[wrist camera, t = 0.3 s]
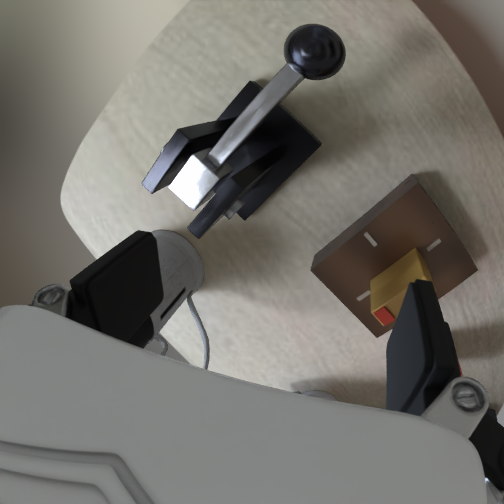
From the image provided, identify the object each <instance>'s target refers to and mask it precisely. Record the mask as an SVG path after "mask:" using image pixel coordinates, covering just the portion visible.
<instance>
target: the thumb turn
mask: <svg viewBox="0 0 504 504" xmlns="http://www.w3.org/2000/svg"><path fill="white" fill-rule="evenodd" d="M416 279H421V280H427V281H432V283H433V280H432V277H431V274H430V271H429V268H428V265H427V263H426V261H425V259H424V258H423V257H422V255H421V254H420V253H419V252H418V250H417V249H416V248H414V249H412V250H411V251H410V252H409V253H407V254H406V255H405V256H403V257H402V258H401V259H399V260H398V261H397V262H395V263H394V264H392V265H391V266H390V267H388V268H387V269H386V270H384V271H383V272H382V273H380V274H379V275H377V276H376V277H375V278H373V279H372V280H371V281H370V288H371V313H372V314H373V315H374V316H375V317H376V318H377V320H378V321H379V322H380V323H381V324H382V325H383V326H386V325H388V324H389V323H391V322H392V321H394V320H395V319H396V318H397V317H398V314H399V311H400V308H401V306H402V303H403V300H404V297H405V294H406V291H407V288H408V285H409V283H410V282H415V280H416ZM433 286H434V283H433ZM434 289H435V286H434ZM435 292H436V289H435Z"/></svg>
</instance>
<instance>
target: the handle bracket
mask: <svg viewBox="0 0 504 504" xmlns="http://www.w3.org/2000/svg"><path fill="white" fill-rule="evenodd" d="M262 89H263V88H262V87H261V86H259V85H258V84H257V83H256V82H255V81H249V82H248V83H247V85H246V86H245V87H244V88H243V89H242V90H241V92H240V93H239V94H238V95H237V96H236V97H235V99H234V100H233V101H232V102H231V103H230V105H229V106H228V107H227V108H226V109H225V111H224V112H223V113H222V114H221V115H220V117H219V118H218V119H217V120H216V121H212V122H207V123H202V124H197V125H193V126H188V127H184V128H180V129H177V131H176V132H175V134H174V135H173V136H172V138H171V139H170V141H169V142H168V143H167V144H166V145H165V146H164V147H163V149H162V150H161V153H160V156H159V157H158V159H157V160H156V162H155V163H154V165H153V166H152V168H151V169H150V171H149V172H148V174H147V176H146V177H145V179H144V180H143V182H142V185H143V186H144V187H145V188H146V189H147V190H148V191H149V192H150V193H151V194H153V193H155V192H156V191H158V190H160V189H162V188H164V187H166V186H167V185H169V184H171V182H172V181H173V179H174V178H175V177H176V175H177V174H178V173H179V171H180V170H181V168H182V167H183V166H184V164H185V163H186V162H187V160H188V159H189V158H190V156H191V155H192V154H193V153H196V152H198V151H201V150H203V149H206V148H209V147H211V148H213V147H214V145H215V144H216V143H217V142H218V141H219V139H220V138H221V137H222V136H223V134H224V133H225V132H226V131H227V130H228V128H229V127H230V126H231V125H232V124H233V123H234V121H235V120H236V119H237V118H238V117H239V115H240V114H241V113H242V112H243V111H244V110H245V109H246V107H247V106H248V105H249V104H250V103H251V102H252V101H253V99H254V98H255V97H256V96H257V95H258V94H259V93H260V92H261V90H262ZM321 145H322V142H321V141H320V140H319V139H318V138H317V137H316V136H315V135H314V134H313V133H312V132H311V131H310V130H308V129H307V128H306V127H305V126H304V125H303V124H302V123H301V122H300V121H299V120H298V119H297V118H296V117H295V116H294V115H292V114H291V113H290V112H289V111H288V110H287V109H286V108H285V107H284V106H283V105H281V104H280V105H279V106H278V107H277V108H276V109H275V110H274V111H273V112H272V113H271V114H270V115H269V116H268V117H267V119H266V120H265V121H264V122H263V123H262V124H261V125H260V126H259V127H258V128H257V130H256V131H255V132H254V133H253V134H252V135H251V136H250V137H249V138H248V140H247V141H246V142H245V143H244V144H243V145H242V146H241V148H240V149H239V150H238V151H237V152H236V153H235V154H234V156H233V157H232V158H231V159H230V160H229V161H228V164H229V165H230V166H231V167H232V168H233V169H234V172H233V173H232V174H231V175H230V176H229V177H228V178H227V180H226V181H225V182H224V183H223V184H222V185H221V186H220V188H219V189H218V190H217V191H216V192H215V193H216V194H215V195H214V196H213V198H212V199H211V200H210V201H209V202H208V203H207V205H206V206H205V207H204V208H203V209H202V210H201V212H200V213H199V214H198V215H197V216H196V218H195V219H194V220H193V221H192V222H191V224H190V225H189V226H188V227H187V229H188V230H189V231H190V232H191V233H192V234H194V235H195V236H196V237H197V238H198V239H200V238H201V237H202V236H203V235H204V234H205V233H206V232H207V231H208V230H209V229H210V228H211V227H212V226H214V225H215V224H216V223H217V222H218V221H219V220H220V219H221V218H222V217H223V216H226V217H227V218H228V219H231V218H232V216H233V215H234V214H235V213H237V214H238V215H239V216H240V217H241V218H242V219H243V220H246V219H247V218H248V217H249V216H250V215H251V214H252V213H253V212H254V211H255V210H256V209H257V208H258V207H259V206H260V205H261V204H262V203H263V202H264V201H265V200H266V199H267V198H268V197H269V196H270V195H271V194H272V193H273V192H274V191H275V190H276V189H277V188H278V187H279V186H280V185H281V184H282V183H283V182H284V181H285V180H286V179H287V178H288V177H289V176H290V175H292V174H293V173H294V172H295V171H296V170H297V169H298V168H299V167H300V166H301V165H302V164H303V163H304V162H305V161H306V160H307V159H308V158H309V157H310V156H311V155H312V154H313V153H314V152H315V151H316V150H317V149H318V148H319V147H320V146H321Z"/></svg>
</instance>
